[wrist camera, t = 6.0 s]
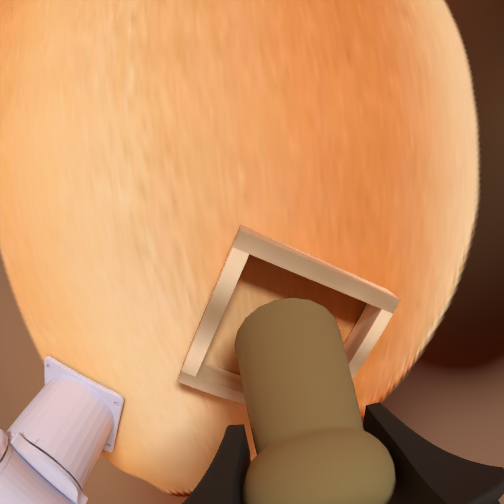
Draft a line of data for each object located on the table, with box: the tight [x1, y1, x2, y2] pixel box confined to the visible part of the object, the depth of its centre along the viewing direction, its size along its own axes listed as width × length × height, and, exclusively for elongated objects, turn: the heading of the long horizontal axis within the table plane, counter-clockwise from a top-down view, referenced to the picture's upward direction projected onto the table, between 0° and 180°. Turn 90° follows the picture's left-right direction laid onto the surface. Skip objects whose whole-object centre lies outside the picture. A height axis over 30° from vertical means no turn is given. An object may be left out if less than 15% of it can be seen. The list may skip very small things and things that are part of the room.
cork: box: [235, 298, 396, 504], centre depth 11 cm, size 6×6×11 cm
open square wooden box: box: [177, 226, 400, 405], centre depth 19 cm, size 11×11×2 cm
